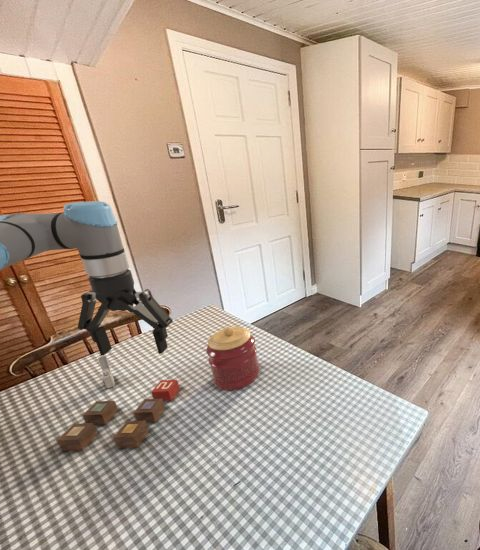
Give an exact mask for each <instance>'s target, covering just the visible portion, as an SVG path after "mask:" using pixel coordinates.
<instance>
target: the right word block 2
mask: <svg viewBox="0 0 480 550" xmlns="http://www.w3.org/2000/svg"><path fill="white" fill-rule="evenodd" d="M164 402H165V401H163V399H154V398H144V399H143V400H142V401H141V403H140V404H139V405H138V406H137V407H136V409H135V410H134V411H133V415H134V419H135V421H145V420H146V423H147V424H148V423H149V424H150V423H157V421H158V420H159V419H160V417H161V416H162V415H163V413H164V411H165V410H166V406H165V405H166V404H165V403H164Z"/></svg>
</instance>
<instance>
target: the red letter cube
mask: <svg viewBox="0 0 480 550" xmlns="http://www.w3.org/2000/svg"><path fill="white" fill-rule="evenodd" d="M180 390H181V389H180V385H179V382H178V379H162V380H159V382H158V383H157V384H156V385H155V387H154V388H152V390H151V396H152V399H163V402H172V401H173V399H174V398H175V397H176V396H177V394H178V393H179V392H180Z"/></svg>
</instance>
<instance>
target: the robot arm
mask: <svg viewBox="0 0 480 550" xmlns="http://www.w3.org/2000/svg"><path fill="white" fill-rule="evenodd" d="M62 209H63V212H59V213H58V212H57V213H56V212H55V213H53V212H52V213H48V212H47V213H25V212H17V213H13V214H2V215H0V271H2V270H4V269H6V268H8V267H10V266H13V265H15V264H17V263H20V262H22V261H25V260H27V259H30V258H32V257H35V256H37V255H40V254H42V253H45V252H48V251H58V250H59V251H61V250H74V249H77V252H78V254H79V256H80V259H81V263H82V265H83V268H84V272H85V274H86V276H88V282H89V285H90V287H91V289H90V290H88V291H86V292H85V293H84V292H83V294H81V295H80V298H81V303H82V305H81V309H80V314H79V318H78V323H77V329H78V330H80V331H82V330H84V331H85V330H86V331H87V332H89V335H90V337H91V339H92V342H93V343H95V344H96V346H97V349H98V351H99V354H100V356H105V355H106V354H108V353H109V352H110V351H111V350H112V349H113V348H112V344H111V342H110V339H109V336H108V333H107V330H106V327H105V326H102V324H103V321H104V320H105V318H106V317H107V315H108V314H109V312H118V311H121V312H126V311H127V312H128V313H130V314H135V316H137V317H138V318H139V319H141V320H142V321H144V322H145V323H146V324H148V325H149V326H150V327H151V328H153V329H152V335H153V338H154V343H155V346H156V349H157V352H158V354H159V355H160V354H163V353H164V352H165V351H166V350H167V349H168V348H169V347H168V343H167V338H168V336H169V335H168V332H167V331H168V330H167V328H168V327H169V326H170V325H171V324H172V323H173V322H174V321H173V318H172V317H171V316H170V315H169V314H168V313H167V312H166V310H165V309H164V308H163V307H162V306H161V305H160V303H159V302H157V300H156V299H155V298H154V297H153V294H152V291H151V290H150V289H148V288H145V290H143V291H137V290H136V289H135V281H134V277H133V274H132V271H131V269H130V264H129V261H128V258H127V254H126V251H125V248H124V246H123V242H122V238H121V234H120V230H119V227H118V221H117V220H116V217H115V213H114V212H113V209H112V207H111V205H110V203H107V202H105V201H98V200H88V201H76V202H69V203H66V204H64V205H63V208H62ZM97 301H98V303H100V306H99V307H98V309H97V312H96V313H95V310H96V309H95V308H96V305H97V304H96V303H97ZM134 305H135V306H134ZM94 313H95V315H94Z"/></svg>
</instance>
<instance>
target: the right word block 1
mask: <svg viewBox="0 0 480 550" xmlns="http://www.w3.org/2000/svg"><path fill="white" fill-rule="evenodd" d="M149 432H150V428H149V425H148V423H146V420H145V421H136V420H128V421H125V422H124V424H123V425H122V426H121V427H120V428H119V429H118V431H117V432H116V433H115V434H114V436H113V437H112V438H113V441H114V443H115V446H116V448H117V449H133V448H134V449H135V448H139V447H140V445H141V444H142V443H143V441H144V440H145V438H146V437H147V436H148V434H149Z"/></svg>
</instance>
